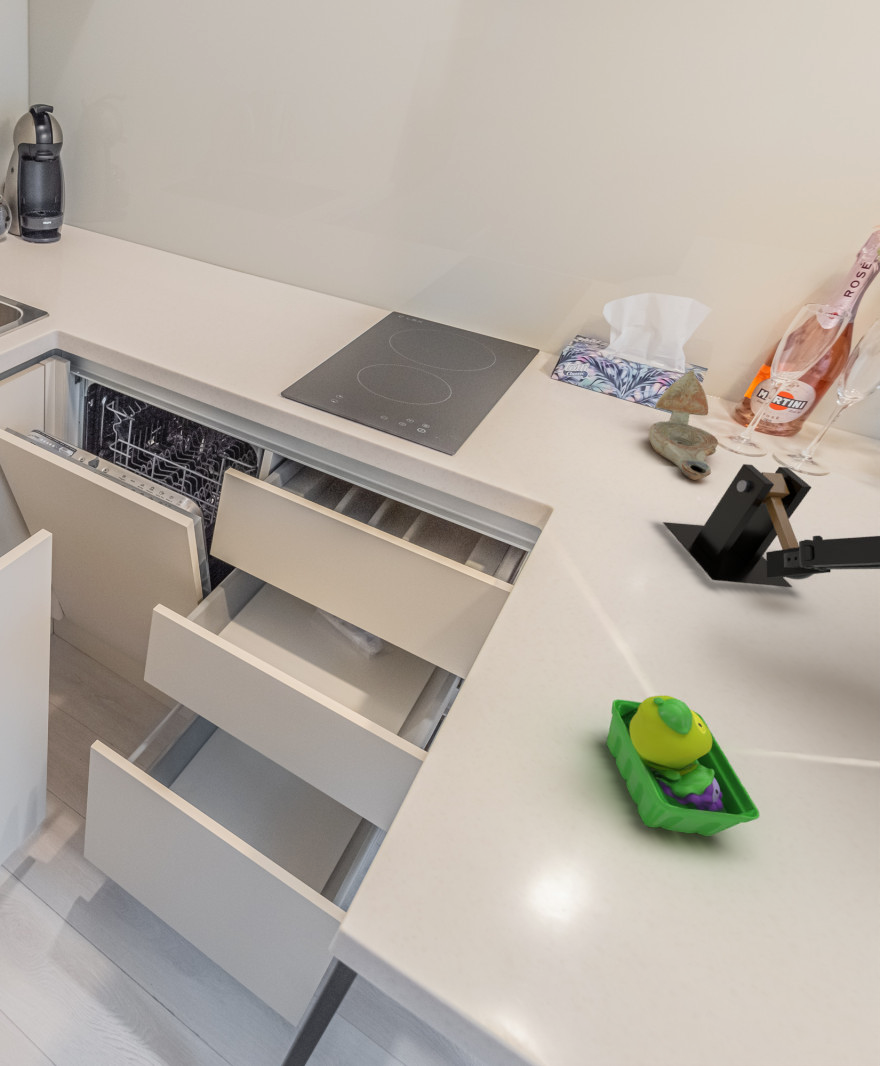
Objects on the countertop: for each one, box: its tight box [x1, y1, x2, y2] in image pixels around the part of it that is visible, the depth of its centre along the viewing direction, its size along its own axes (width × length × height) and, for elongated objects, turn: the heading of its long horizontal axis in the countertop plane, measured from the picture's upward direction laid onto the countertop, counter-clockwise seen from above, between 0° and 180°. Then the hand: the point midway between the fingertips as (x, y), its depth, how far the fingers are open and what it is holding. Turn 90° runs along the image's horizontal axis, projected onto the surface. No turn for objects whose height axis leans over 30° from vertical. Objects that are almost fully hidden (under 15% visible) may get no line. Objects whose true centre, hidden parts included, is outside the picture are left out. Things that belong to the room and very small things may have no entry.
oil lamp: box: [648, 370, 719, 481], centre depth 114 cm, size 9×21×10 cm, turn 157°
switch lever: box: [761, 471, 814, 581], centre depth 87 cm, size 13×4×4 cm, turn 174°
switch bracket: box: [662, 463, 812, 588], centre depth 92 cm, size 12×9×13 cm
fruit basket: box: [606, 694, 760, 837], centre depth 65 cm, size 11×9×11 cm
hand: (838, 571), depth 80 cm, fingers open, 13 cm apart
